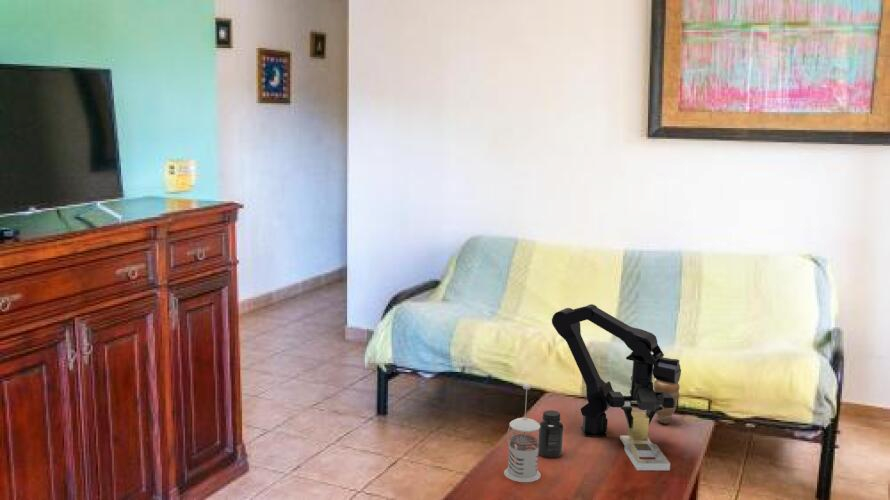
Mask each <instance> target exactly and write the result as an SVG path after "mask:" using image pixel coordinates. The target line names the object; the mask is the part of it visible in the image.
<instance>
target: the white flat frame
mask: <svg viewBox="0 0 890 500" xmlns="http://www.w3.org/2000/svg"><path fill="white" fill-rule="evenodd" d="M623 449H624V452H625V454H626V456H628V457H627V458H629V460H630V461H631V463H632V464H633V466H634V468H635V470H636V471H662V472H663V471H665V472H667V471H669V472H670V471H671V462H670V461H669V460H668V458H667V457H666V456H665V454H664V453H663V452H662V450H661V449H660V447H659V446H658V444H656V443H652V444H625V445H624V448H623ZM641 458H647V459H641ZM648 458H649V459H648ZM650 458H654V459H650Z"/></svg>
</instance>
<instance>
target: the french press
mask: <svg viewBox="0 0 890 500" xmlns="http://www.w3.org/2000/svg"><path fill="white" fill-rule="evenodd" d="M522 388H523V390H525V405H524V406H525V407H524V417H517V418H515V419H513V420H511V421H510V422H509V426H508V429H507V443H508V461H507V462H508V465H507V468H505V470H504V472H503V475H504V476H505V477H506V478H507V479H510V480H511V481H514V482H519V483H532V482H534V481H538V480H539V479H540V478H541V472H540V471H539V470H538V464H539V463H538V460H539V453H538V439H537V437H536V436H534V435H532V434H531V435H530V434H526V433H535V432H537V431H539V429H540V424H539V423H540V422H538V421H536V420H534V419H532V418H527V416H526V414H527V401H528V400H527V399H528V398H527V397H528V390H531V385H530V384H529V383H525V384H523V386H522ZM510 429H512V435H511V437H510V436H509V435H510V434H509V432H510ZM515 431H516V432H521V433H520V434H515ZM534 446H535V447H534Z"/></svg>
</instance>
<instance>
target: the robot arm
mask: <svg viewBox="0 0 890 500" xmlns="http://www.w3.org/2000/svg"><path fill="white" fill-rule="evenodd" d="M584 321H590V323H592V324H594V325H596V326H597V327H599V328H601V329H603V330H604V331H606V332H608V333H609V334H611V335H613V336H615V337H616V338H618V339H619V340H621V341H622V342H623V343H624V344H625V346H626V347H627V348H628V349H629V350H631V351H632V352H631V353H630V354H629V355H627V356H626V357H625V359H626V360H627V361H632V370H631V372H632V373H631V376H630V381H631V382H630V383H631V385H630V389H629V394H630V395H623V394H622V393H621V391H615V390H614V388H613V387H612V383H611V381H609V380H608V381H607V382H605V380H604V379H602V377H601V376H600V374H599V371H598V369H597V368H596V365H595V362H594V361H593V359H592V356H591V354H590V351H589V349H588V347H587V346H586V343H585V341H584V339H583V336H582V335H581V333H582V331H581V322H584ZM551 324H552V326H553V328H554V329H555V331H556V332H557V334H558V335H559V336H560V337H561V338H563V340H565V342H566V344H567V345H568V348H569V350H570V353H571V355H572V357H573V358H574V359H573V360H574V362H575V364H576V366H577V368H578V370H579V372H580V374H581V377H582V379H583V381H584V383H585V386H586V387H585V391H586V399H587V403H586V404H585V405H583V406H582V407H581V408H580V412H581V415H582V426H580V429H581V431H582V433H583V435H584V437H607V431H608V421H609V419H608V417H607V413H606V412H607V411H608V410H609V409H610V408H620V409H621V410H623V412H624V415H625V420H626V422H627V427H628V426H629V428H631V412H633V407H632V406H631V403H633V404H634V403H635V404H637V406H638V409H639V410H640V411H645V413H646V414H647V415H648V417H649V425H650V424H651V422H652V420H653V419H654V417H655V415H656V414H657V413H656V412H657V411H659V410H662V409H663V408H662V407H661V405H662V406H663V407H664V408H674V407H675V399H674V398H673V397H672V396H671V395H670V394H669V393H668V392H654V383H653V378H654V379H655V381H656V380H659V381H664V382H669V383H673V384H677V383H678V384H679V381H680V378H681V374H682V368H681V364H680V359H677V358H670V357H664V356H665V354H664V352H663V351H662V349H661V348H660V346H659V344H658V339H657V336H656V335H655V334H654V333H652V332H651V331H647V330H644V329H641V328H638V327H637V328H636V327H633V326H630V325H628V324H627V323H625V322H623V321H621V320H619V318H616V317H614V316H613V315H611V314H609V313H607V312H605V311H604V310H602V309H600V308H599V307H598V306H597V305H596V304H593V303H591V304H588V305H584V306H580V307H578V308H574V309H573V308H571V307H565V308H563V309H561V310H559V311H556V312H555V313H554V314H553V315H552V318H551ZM675 408H676V407H675Z"/></svg>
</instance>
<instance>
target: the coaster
mask: <svg viewBox="0 0 890 500" xmlns="http://www.w3.org/2000/svg"><path fill="white" fill-rule="evenodd" d="M619 439H620V440H621V442H622V444H623V445H624V446H625V444H653V442H652V441H651V440H650V439H649V437H648V440H647V441H632V440H631V439H630V437H629V436H628V435H619Z"/></svg>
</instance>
